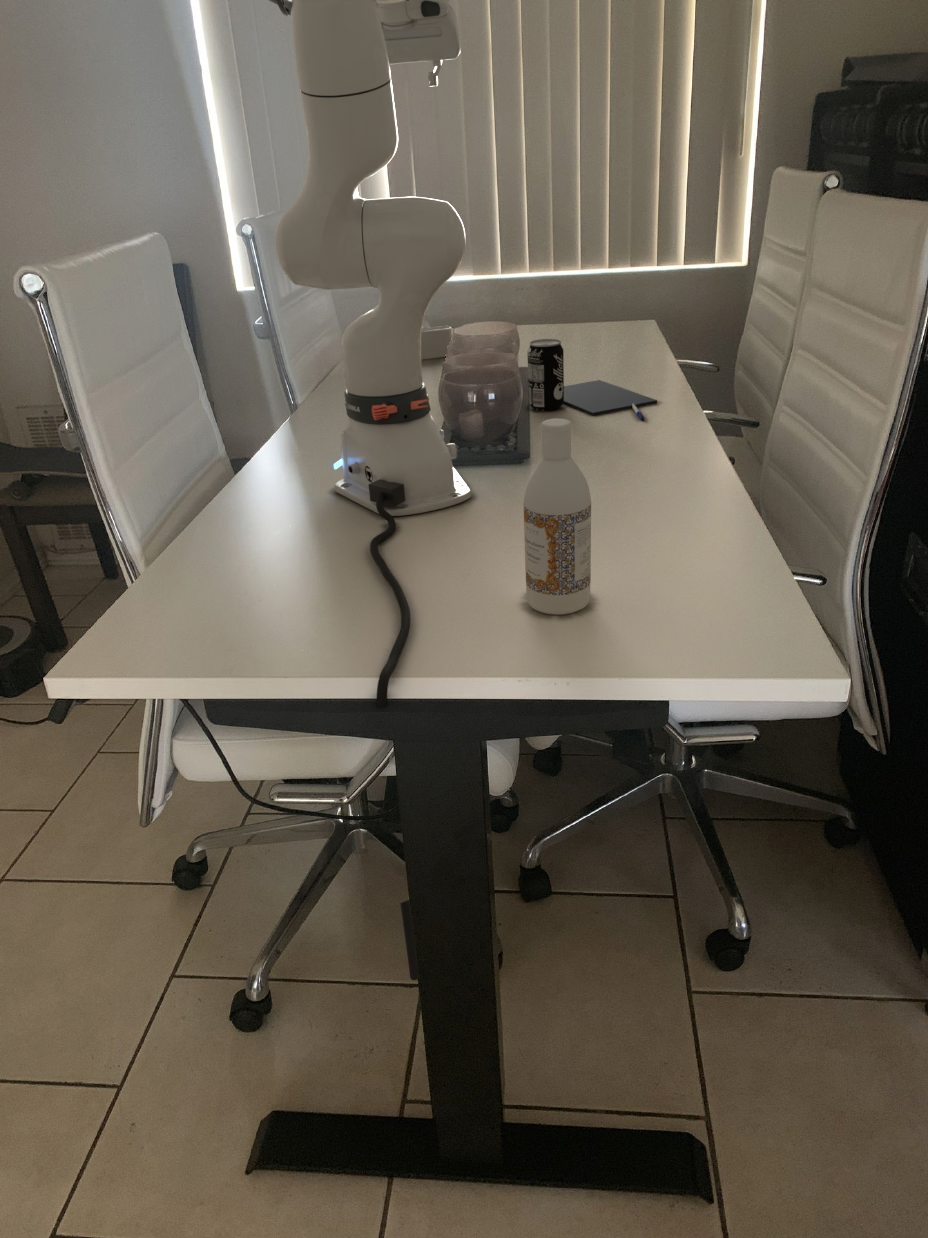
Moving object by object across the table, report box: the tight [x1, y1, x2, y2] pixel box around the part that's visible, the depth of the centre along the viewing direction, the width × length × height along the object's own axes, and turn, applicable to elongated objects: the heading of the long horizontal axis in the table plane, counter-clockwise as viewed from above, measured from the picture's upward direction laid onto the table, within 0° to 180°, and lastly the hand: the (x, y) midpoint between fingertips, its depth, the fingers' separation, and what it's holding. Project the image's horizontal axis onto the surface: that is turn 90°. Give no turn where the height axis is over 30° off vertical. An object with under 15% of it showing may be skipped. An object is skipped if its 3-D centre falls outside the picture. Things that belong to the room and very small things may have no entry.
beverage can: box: [526, 338, 565, 412], centre depth 164 cm, size 7×7×12 cm
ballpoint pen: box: [631, 403, 645, 422], centre depth 160 cm, size 10×1×1 cm, turn 3°
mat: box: [563, 379, 658, 416], centre depth 170 cm, size 20×14×1 cm
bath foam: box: [522, 418, 592, 616], centre depth 92 cm, size 7×7×20 cm
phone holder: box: [421, 315, 453, 361], centre depth 214 cm, size 17×10×18 cm, turn 15°
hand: (407, 86), depth 159 cm, fingers open, 8 cm apart
